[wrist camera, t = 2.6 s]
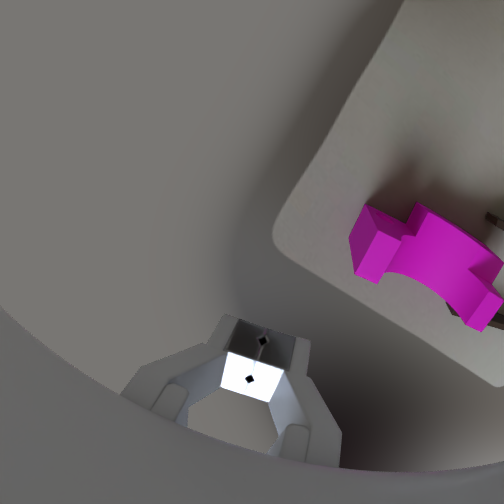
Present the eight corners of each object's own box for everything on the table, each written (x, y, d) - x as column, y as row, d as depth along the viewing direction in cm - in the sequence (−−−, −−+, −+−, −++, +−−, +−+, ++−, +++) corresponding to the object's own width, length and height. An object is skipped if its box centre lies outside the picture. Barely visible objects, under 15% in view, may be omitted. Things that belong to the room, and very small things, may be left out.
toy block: (485, 244, 22) (518, 277, 16) (457, 291, 25) (481, 332, 18) (375, 179, 23) (393, 198, 17) (348, 237, 26) (354, 274, 20)
